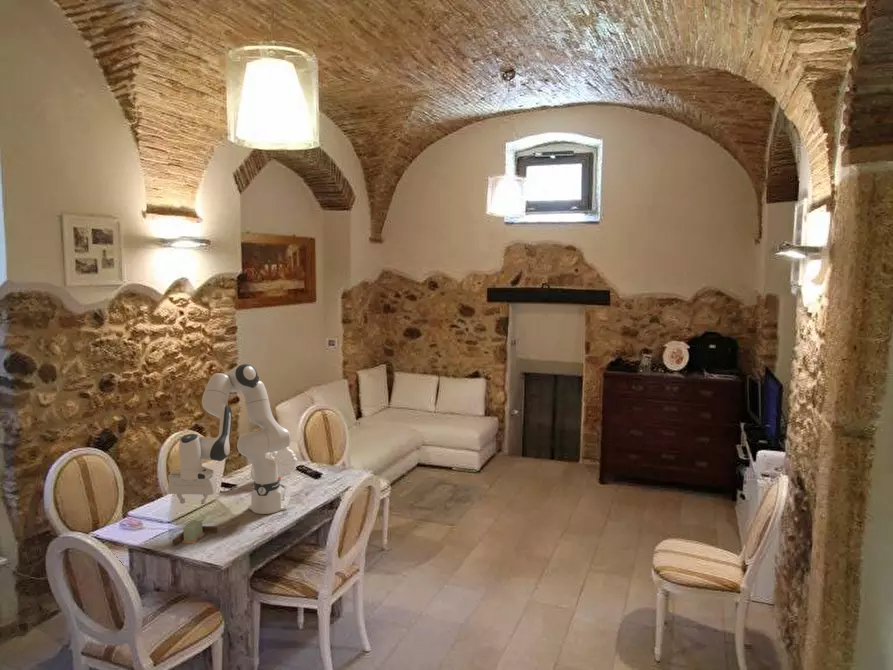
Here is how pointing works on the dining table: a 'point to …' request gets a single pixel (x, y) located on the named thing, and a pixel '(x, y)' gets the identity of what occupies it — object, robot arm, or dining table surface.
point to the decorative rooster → (282, 461)
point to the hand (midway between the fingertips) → (193, 503)
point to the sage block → (192, 531)
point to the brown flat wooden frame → (205, 530)
